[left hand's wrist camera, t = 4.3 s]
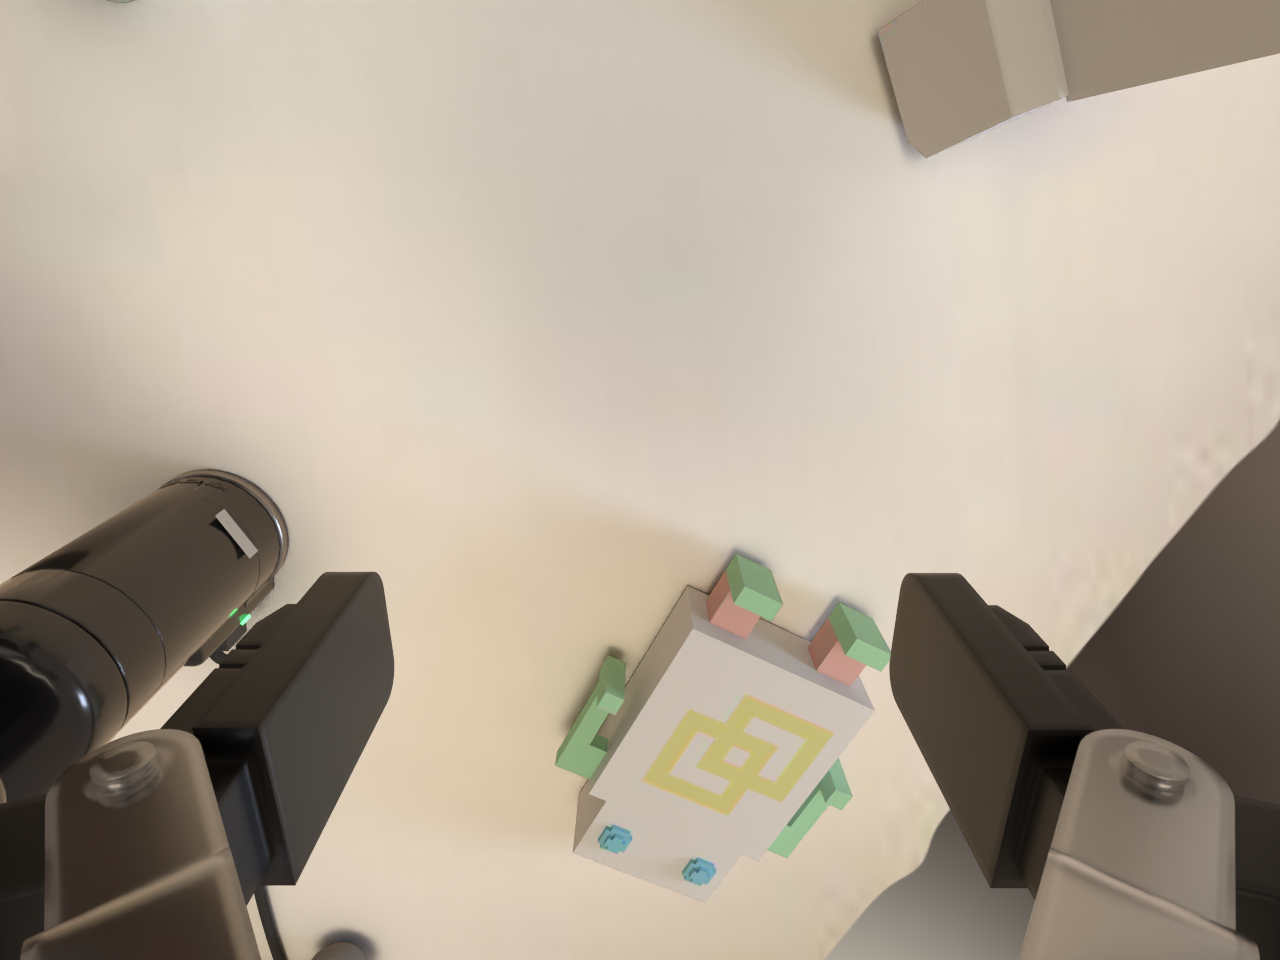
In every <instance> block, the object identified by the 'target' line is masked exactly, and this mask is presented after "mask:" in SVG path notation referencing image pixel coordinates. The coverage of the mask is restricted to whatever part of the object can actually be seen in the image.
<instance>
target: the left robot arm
mask: <svg viewBox="0 0 1280 960" xmlns="http://www.w3.org/2000/svg"><path fill="white" fill-rule="evenodd" d="M393 678H394V656H393V649H392V642H391V635H390V628H389V622H388V615H387V608H386V601H385V594H384V588H383V583H382V580H381V578H380V576H379V574H378V573H376V572H325V573H323V574H322V575H321V576H320V577H319V578H318V580H317V581H316V582H315V583H314V584H313V586H312V587H311V588H310V589H309V590H308V591H307V593H306V594H305V595H304V596H303V597H302V598H301V600H300V601H299V602H298V603H297V604H287V605H285V606H283V607H282V608H280V609H278V610H277V611H275V612H274V613H272V614H270V615H269V616H267V617H265V618H264V619H262V620H260V621H259V622H257V623H256V624H255V625H254V626H253V627H252V628H251V629H250V630H249V632H248V633H247V634H246V635H245V636H244V637H243V638H242V639H241V640H240V641H239V643H238V644H237V645H236V650H231V651H230V653H229V654H228V655H227V656H226V657H225V658H224V659H223V660H222V661H221V662H220V664H219V668H215V669H214V670H213V671H212V672H211V673H210V675H209V676H208V677H207V678H206V679H205V680H204V681H203V682H202V683H201V684H200V686H199V687H198V688H197V689H196V690H195V691H194V692H193V693H192V694H191V695H190V697H189V698H188V699H187V700H186V701H185V702H184V703H183V704H182V705H181V707H180V708H179V709H178V710H177V711H176V712H175V713H174V714H173V715H172V716H171V718H170V719H169V720H168V721H167V722H166V723H165V724H164V725H163V726H162V727H161V729H157V730H149V731H144V732H139V733H135V734H132V735H128V736H125V737H122V738H119V739H117V740H114V741H112V742H109V743H107V744H105V745H103V746H101V747H99V748H97V749H95V750H93V751H92V752H90V753H88V754H86V755H85V756H83V757H82V758H80V759H79V760H77V761H76V762H75V763H73V764H72V765H71V766H70V767H69V768H67V769H66V770H65V771H64V772H63V773H62V774H61V775H60V776H59V777H58V778H57V779H56V781H55V782H54V783H53V785H52V786H51V788H50V790H49V792H48V794H43V795H39V796H34V797H29V798H25V799H20V800H16V801H11V802H6V803H2V804H0V960H261V957H260V954H259V950H258V947H257V943H256V939H255V936H254V932H253V929H252V925H251V921H250V918H249V914H248V911H247V907H246V906H247V904H248V902H249V901H250V899H251V897H252V895H253V893H254V892H255V890H256V888H257V886H258V885H296V883H297V881H298V879H299V877H300V875H301V873H302V871H303V869H304V867H305V865H306V863H307V861H308V859H309V857H310V855H311V853H312V851H313V849H314V847H315V845H316V843H317V841H318V839H319V837H320V835H321V833H322V831H323V829H324V827H325V825H326V823H327V821H328V819H329V817H330V815H331V813H332V811H333V809H334V807H335V805H336V803H337V801H338V799H339V797H340V795H341V793H342V791H343V789H344V787H345V785H346V783H347V781H348V779H349V777H350V775H351V773H352V771H353V769H354V767H355V765H356V763H357V761H358V759H359V757H360V755H361V753H362V751H363V749H364V747H365V745H366V743H367V741H368V739H369V737H370V736H371V734H372V732H373V730H374V728H375V726H376V724H377V722H378V720H379V718H380V716H381V714H382V712H383V710H384V708H385V706H386V704H387V702H388V699H389V697H390V694H391V690H392V685H393ZM890 682H891V688H892V692H893V696H894V699H895V701H896V703H897V705H898V707H899V709H900V711H901V713H902V715H903V717H904V719H905V721H906V723H907V725H908V727H909V729H910V731H911V733H912V735H913V737H914V739H915V741H916V743H917V745H918V747H919V749H920V751H921V753H922V755H923V756H924V758H925V760H926V762H927V764H928V766H929V768H930V770H931V772H932V774H933V776H934V778H935V780H936V782H937V784H938V786H939V788H940V790H941V792H942V794H943V796H944V798H945V800H946V802H947V804H948V806H949V808H950V809H951V811H952V813H953V815H954V817H955V819H956V821H957V823H958V825H959V827H960V829H961V831H962V833H963V835H964V837H965V839H966V841H967V843H968V845H969V847H970V849H971V851H972V853H973V855H974V857H975V859H976V861H977V862H978V864H979V866H980V868H981V870H982V872H983V874H984V876H985V878H986V880H987V882H988V884H989V886H990V888H1028V889H1029V891H1030V892H1031V894H1032V896H1033V898H1034V900H1035V903H1034V907H1033V911H1032V914H1031V918H1030V921H1029V925H1028V929H1027V932H1026V936H1025V939H1024V943H1023V946H1022V950H1021V954H1020V957H1019V960H1280V805H1278V804H1273V803H1268V802H1263V801H1259V800H1255V799H1250V798H1245V797H1241V796H1237V795H1233V794H1232V792H1231V790H1230V788H1229V786H1228V785H1227V783H1226V782H1225V781H1224V779H1223V778H1222V777H1221V776H1220V775H1219V774H1218V773H1217V772H1216V771H1215V770H1214V769H1213V768H1211V767H1210V766H1209V765H1208V764H1207V763H1205V762H1204V761H1202V760H1201V759H1200V758H1198V757H1197V756H1195V755H1194V754H1192V753H1190V752H1188V751H1187V750H1185V749H1183V748H1181V747H1179V746H1177V745H1175V744H1173V743H1171V742H1168V741H1166V740H1163V739H1160V738H1158V737H1155V736H1152V735H1148V734H1145V733H1141V732H1136V731H1131V730H1125V729H1124V728H1123V727H1122V726H1121V725H1120V724H1119V723H1118V722H1117V721H1116V719H1115V718H1114V717H1113V716H1112V715H1111V714H1110V713H1109V712H1108V711H1107V710H1106V709H1105V707H1104V706H1103V705H1102V704H1101V703H1100V702H1099V701H1098V700H1097V699H1096V698H1095V697H1094V695H1093V694H1092V693H1091V692H1090V691H1089V690H1088V689H1087V688H1086V687H1085V686H1084V684H1083V683H1082V682H1081V681H1080V680H1079V679H1078V678H1077V677H1076V676H1075V675H1074V674H1073V673H1072V671H1070V670H1066V665H1065V664H1064V663H1063V662H1062V660H1061V659H1060V658H1059V657H1058V656H1057V655H1056V654H1055V653H1054V652H1053V651H1049V646H1048V645H1047V644H1046V643H1045V642H1044V641H1043V640H1042V639H1041V638H1040V636H1039V635H1038V634H1037V633H1036V632H1035V631H1034V630H1033V629H1032V628H1031V627H1030V626H1029V624H1027V623H1025V622H1024V621H1022V620H1020V619H1019V618H1017V617H1015V616H1014V615H1012V614H1011V613H1009V612H1007V611H1006V610H1004V609H1002V608H1001V607H999V606H997V605H987V604H986V603H985V601H984V600H983V599H982V598H981V597H980V596H979V594H978V593H977V592H976V591H975V590H974V589H973V587H972V586H971V585H970V584H969V583H968V582H967V580H966V579H965V578H964V577H963V576H962V575H961V574H959V573H909V574H907V575H906V576H905V577H904V579H903V581H902V584H901V588H900V595H899V601H898V608H897V615H896V622H895V629H894V635H893V642H892V649H891V656H890Z"/></svg>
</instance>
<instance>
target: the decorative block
mask: <svg viewBox="0 0 1280 960" xmlns="http://www.w3.org/2000/svg"><path fill="white" fill-rule="evenodd" d="M782 605H783V603H782V600H781V597H780V594H779V592H778V589H777V586H776V583H775V580H774V577H773V575H772V572H771V570H770V569H767V568H765V567H763V566H761V565H759V564H757V563H755V562H753V561H751V560H749V559H746V558H744V557H742V556H740V555H738V554H735V556H734V557H733V559H732V560H731V562H730V564H729V565H728V567H727V568H726V570H725V572H724V573H723V575H722V576H721V578H720V580H719V581H718V583H717V584H716V586H715V588H714V589H713V591H712V592H711V594H710V595H707V594H705V593H703V592H701V591H698V590H696V589H694V588H692V587H690V586H687V588H686V589H685V591H684V592H683V594H682V596H681V597H680V599H679V601H678V602H677V604H676V605H675V607H674V609H673V610H672V612H671V614H670V615H669V617H668V619H667V620H666V622H665V623H664V625H663V627H662V628H661V630H660V632H659V633H658V635H657V636H656V638H655V640H654V641H653V643H652V645H651V646H650V648H649V650H648V651H647V653H646V654H645V656H644V658H643V659H642V661H641V663H640V664H639V666H638V668H637V669H636V671H635V672H634V674H633V676H632V677H631V679H630V681H629V682H628V684H627V685H626V687H625V667H626V663H625V662H622V661H620V660H618V659H615V658H613V657H611V656H609V655H608V657H607V659H606V660H605V662H604V664H603V665H602V667H601V669H600V673H599V682H598V684H597V686H596V687H595V689H594V691H593V692H592V694H591V696H590V697H589V699H588V701H587V702H586V704H585V706H584V707H583V709H582V711H581V713H580V714H579V716H578V718H577V719H576V721H575V723H574V724H573V726H572V728H571V729H570V731H569V733H568V734H567V736H566V738H565V739H564V741H563V743H562V744H561V746H560V748H559V750H558V751H557V756H556V763H555V766H558V767H560V768H563V769H565V770H568V771H570V772H573V773H575V774H578V775H580V776H583V777H585V778H588V781H587V783H586V784H585V786H584V787H583V789H582V791H581V792H580V794H579V797H578V807H577V817H576V827H575V836H574V846H573V853H574V854H576V855H579V856H582V857H584V858H587V859H590V860H592V861H595V862H598V863H600V864H603V865H605V866H608V867H611V868H613V869H616V870H619V871H621V872H624V873H627V874H629V875H632V876H634V877H637V878H640V879H642V880H645V881H648V882H650V883H653V884H656V885H658V886H661V887H663V888H666V889H669V890H671V891H674V892H677V893H679V894H682V895H685V896H687V897H690V898H693V899H695V900H698V901H700V902H703V903H706V902H707V900H708V899H709V898H710V896H711V895H712V894H713V892H714V891H715V890H716V888H717V887H718V886H719V884H720V883H721V882H722V880H723V879H724V878H725V877H726V875H727V874H728V873H729V871H730V870H731V869H732V867H733V866H734V865H735V863H736V862H737V861H738V859H739V858H740V857H741V855H744V856H747V857H749V858H752V859H754V860H757V861H759V860H760V858H761V857H762V856H763V854H764V853H765V852H766V851H767V850H768V851H771V852H773V853H776V854H778V855H781V856H783V857H786V858H787V857H788V856H789V855H790V854H791V852H792V851H793V850H794V849H795V847H796V846H797V845H798V844H799V842H800V841H801V840H802V838H803V837H804V836H805V835H806V833H807V832H808V831H809V830H810V828H811V827H812V826H813V825H814V823H815V822H816V821H817V819H818V818H819V817H820V816H821V814H822V813H823V812H824V811H825V809H826V808H827V807H828V806H829V805H831V806H833V807H836V808H838V809H840V810H842V809H843V808H844V807H845V805H846V804H847V803H848V802H849V800H850V799H851V798H852V794H851V791H850V788H849V786H848V783H847V780H846V777H845V774H844V772H843V769H842V766H841V763H840V760H839V756H840V755H841V754H842V752H843V751H844V750H845V748H846V747H847V746H848V744H849V743H850V742H851V741H852V739H853V738H854V737H855V735H856V734H857V733H858V732H859V730H860V729H861V728H862V726H863V725H864V724H865V722H866V721H867V720H868V719H869V717H870V716H871V715H872V713H873V712H874V711H875V710H874V707H873V705H872V703H871V701H870V699H869V697H868V694H867V692H866V690H865V688H864V686H863V684H862V681H861V679H860V677H859V674H860V673H861V671H862V670H863V669H864V667H865V666H866V665H868V666H870V667H872V668H874V669H876V670H879V671H882V670H883V668H884V667H885V666H886V664H887V663H888V662H889V660H890V656H891V651H890V649H889V647H888V646H887V644H886V642H885V640H884V638H883V637H882V635H881V633H880V631H879V629H878V628H877V626H876V624H875V622H874V620H873V619H872V618H871V617H869V616H867V615H865V614H862V613H860V612H858V611H856V610H854V609H852V608H850V607H848V606H846V605H843V604H841V603H838V605H837V606H836V608H835V609H834V610H833V612H832V613H831V615H830V616H829V617H828V619H827V620H826V622H825V623H824V625H823V626H822V627H821V629H820V630H819V632H818V633H817V634H816V636H815V637H814V639H813V640H812V642H809V641H807V640H805V639H803V638H801V637H798V636H796V635H794V634H792V633H790V632H788V631H785V630H783V629H781V628H779V627H777V626H775V625H772V624H770V623H768V622H766V621H764V620H762V619H759V618H760V617H764V618H766V619H768V620H770V621H772V620H773V618H774V617H775V615H776V614H777V612H778V611H779V609H780V608H781V606H782ZM608 714H609V715H608ZM606 717H607V718H606ZM605 719H606V720H605ZM604 720H605V721H604ZM603 722H604V723H603ZM602 724H603V725H602ZM601 725H602V726H601ZM600 727H601V728H600ZM599 729H600V730H599ZM598 730H599V731H598ZM597 732H598V733H597ZM596 733H597V734H596Z"/></svg>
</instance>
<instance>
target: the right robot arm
mask: <svg viewBox="0 0 1280 960" xmlns="http://www.w3.org/2000/svg"><path fill="white" fill-rule="evenodd" d="M287 547H288V538H287V531H286V527H285V524H284V521H283V519H282V517H281V515H280V513H279V511H278V510H277V508H276V507H275V505H274V504H273V503H272V501H271V500H270V499H269V498H268V497H267V496H266V495H265V494H264V493H263V492H262V491H261V490H259V489H258V488H257V487H255V486H254V485H252V484H251V483H249V482H248V481H246V480H244V479H242V478H240V477H237V476H235V475H232V474H229V473H225V472H221V471H214V470H199V471H192V472H188V473H185V474H182V475H180V476H178V477H176V478H174V479H173V480H171V481H169V482H167V483H166V484H164V485H163V486H162V487H160V488H159V489H158V490H157V491H156V492H154V493H152V494H151V495H149V496H147V497H146V498H144V499H142V500H140V501H138V502H137V503H135V504H133V505H132V506H130V507H128V508H127V509H125V510H123V511H122V512H120V513H118V514H117V515H115V516H113V517H112V518H110V519H108V520H107V521H105V522H103V523H102V524H100V525H98V526H97V527H95V528H93V529H92V530H90V531H88V532H87V533H85V534H83V535H82V536H80V537H78V538H77V539H75V540H73V541H72V542H70V543H68V544H67V545H65V546H63V547H62V548H60V549H58V550H57V551H55V552H53V553H52V554H50V555H48V556H47V557H45V558H43V559H42V560H40V561H38V562H37V563H35V564H33V565H32V566H30V567H28V568H27V569H25V570H23V571H22V572H20V573H18V574H17V575H15V576H13V577H12V578H10V579H9V580H7V581H5V582H4V583H2V584H0V804H2V803H6V802H11V801H16V800H20V799H25V798H29V797H34V796H39V795H43V794H48V792H49V790H50V788H51V786H52V785H53V783H54V782H55V781H56V779H57V778H58V777H59V776H60V775H61V774H62V773H63V772H64V771H65V770H66V769H67V768H69V767H70V766H71V765H72V764H73V763H75V762H76V761H77V760H79V759H80V758H82V757H83V756H85V755H86V754H88V753H90V752H92V751H93V750H95V749H97V748H99V747H101V746H103V745H105V744H107V743H109V742H110V741H111V740H112V739H113V738H114V736H115V735H116V734H117V733H118V732H119V731H120V730H121V729H122V728H123V727H124V726H125V725H126V724H127V723H128V722H129V721H130V720H131V719H132V718H133V717H134V716H135V715H136V714H137V713H138V712H139V711H140V710H141V709H142V708H143V707H144V706H145V705H146V704H147V703H148V701H149V700H150V699H151V698H152V697H153V696H154V695H155V694H156V693H157V692H158V691H159V690H160V689H161V688H162V687H163V686H164V685H165V684H166V683H167V682H168V681H169V680H170V679H171V678H172V677H173V676H174V675H175V674H176V673H177V672H178V671H179V670H180V669H181V668H182V667H183V666H198V665H200V664H202V663H204V662H205V661H206V660H207V658H208V657H210V658H211V659H212V660H213V661H214V662H216V663H217V664H220V662H221V661H222V660H223V659H224V658H225V657H226V656H227V654H225V653H224V652H223V651H229V649H230V648H231V647H232V646H233V645H234V644H235V643H236V642H237V641H238V640H239V638H240V637H241V636H242V635H243V634H244V633H245V632H246V631H247V628H246V623H245V622H246V621H247V620H248V619H249V618H250V617H251V616H250V615H249V614H250V613H251V612H252V611H253V610H254V609H255V608H256V607H257V605H258V604H259V603H260V602H261V601H262V600H263V599H264V598H265V597H266V596H267V595H268V594H269V593H270V592H271V591H272V590H273V589H274V585H273V576H274V575H275V574H276V573H277V572H278V571H279V569H280V568H281V566H282V564H283V562H284V560H285V557H286V553H287ZM254 895H255V899H256V903H257V907H258V911H259V914H260V918H261V922H262V925H263V928H264V932H265V935H266V938H267V942H268V945H269V948H270V951H271V954H272V957H273V960H285V959H284V957H283V954H282V951H281V948H280V945H279V941H278V938H277V935H276V932H275V928H274V925H273V921H272V918H271V914H270V911H269V907H268V903H267V899H266V895H265V890H264V886H263V885H258V886H257V888H256V890H255V892H254Z"/></svg>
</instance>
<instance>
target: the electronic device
mask: <svg viewBox="0 0 1280 960" xmlns="http://www.w3.org/2000/svg"><path fill="white" fill-rule="evenodd" d="M877 33H878V36H879V40H880V44H881V47H882V51H883V54H884V58H885V61H886V65H887V69H888V72H889V76H890V79H891V83H892V86H893V90H894V94H895V97H896V101H897V104H898V108H899V111H900V115H901V119H902V122H903V126H904V129H905V133H906V136H907V140H908V143H909V144H910V145H912V146H913V147H914V148H915V149H916V150H917V151H919V152H920V153H921V154H922V155H923V156H925V157H926V158H928V157H930V156H933V155H935V154H937V153H939V152H942V151H944V150H946V149H948V148H951V147H953V146H955V145H957V144H960V143H962V142H964V141H966V140H969V139H971V138H973V137H975V136H978V135H980V134H982V133H984V132H987V131H989V130H991V129H994V128H996V127H998V126H1000V125H1003V124H1005V123H1007V122H1009V121H1012V120H1014V119H1016V118H1018V117H1021V116H1023V115H1025V114H1027V113H1030V112H1032V111H1034V110H1037V109H1039V108H1041V107H1043V106H1046V105H1048V104H1050V103H1052V102H1055V101H1057V100H1059V99H1061V98H1063V97H1065V96H1066V99H1067V102H1069V101H1074V100H1078V99H1082V98H1087V97H1091V96H1095V95H1100V94H1104V93H1109V92H1113V91H1117V90H1122V89H1126V88H1130V87H1135V86H1139V85H1143V84H1148V83H1152V82H1156V81H1161V80H1165V79H1169V78H1174V77H1178V76H1182V75H1187V74H1191V73H1196V72H1200V71H1204V70H1209V69H1213V68H1217V67H1222V66H1226V65H1230V64H1235V63H1239V62H1243V61H1248V60H1252V59H1256V58H1261V57H1265V56H1270V55H1274V54H1278V53H1280V0H923V1H921V2H920V3H918V4H917V5H915V6H914V7H912V8H911V9H909V10H908V11H906V12H905V13H903V14H902V15H900V16H899V17H897V18H896V19H894V20H893V21H891V22H890V23H888V24H887V25H885V26H884V27H882V28H881V29H879V30H877Z"/></svg>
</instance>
